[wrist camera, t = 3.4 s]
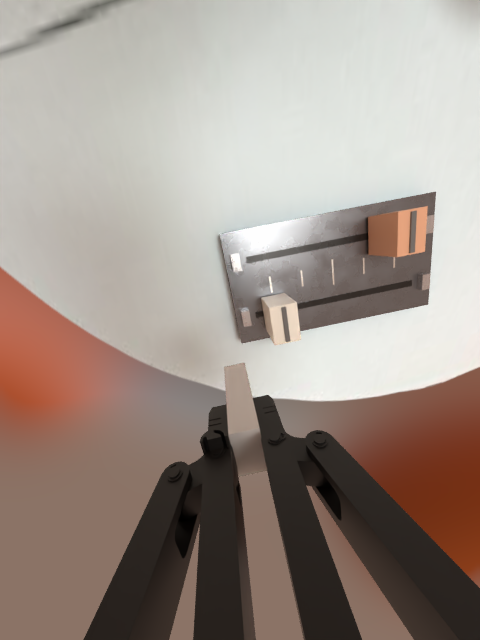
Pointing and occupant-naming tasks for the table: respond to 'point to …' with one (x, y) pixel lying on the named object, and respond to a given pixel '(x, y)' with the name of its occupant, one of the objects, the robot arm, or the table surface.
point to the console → (325, 268)
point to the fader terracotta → (398, 232)
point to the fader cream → (281, 318)
